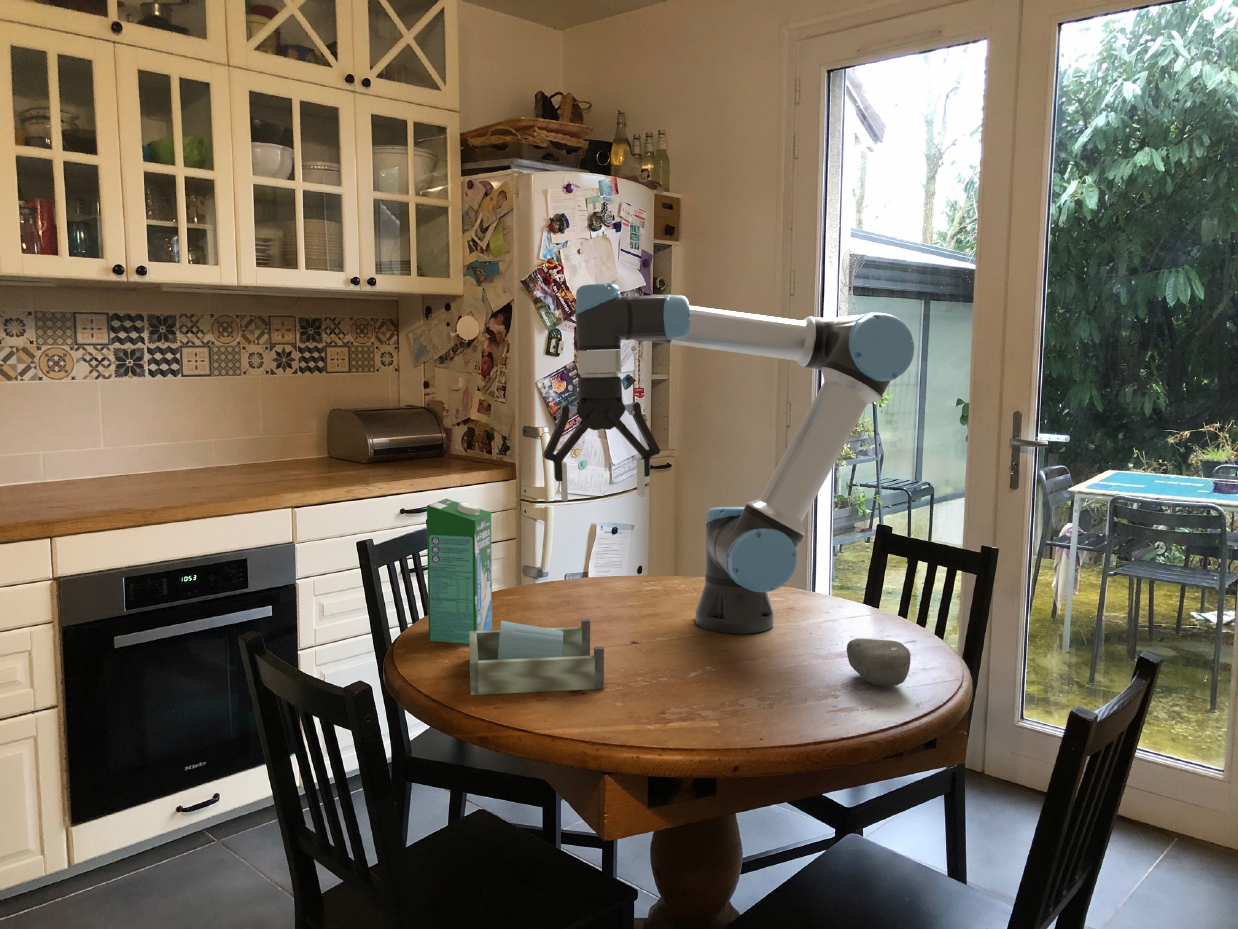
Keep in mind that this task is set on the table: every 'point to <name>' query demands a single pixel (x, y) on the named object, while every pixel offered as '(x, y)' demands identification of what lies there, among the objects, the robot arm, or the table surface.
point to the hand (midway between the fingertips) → (603, 497)
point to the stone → (879, 660)
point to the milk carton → (458, 570)
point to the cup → (528, 641)
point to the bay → (536, 665)
